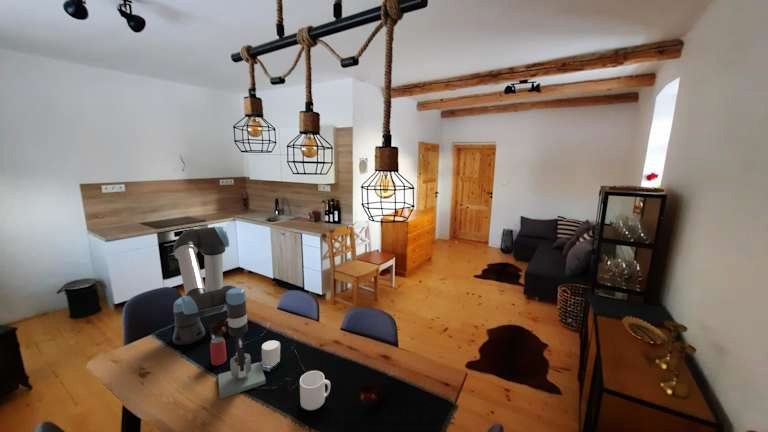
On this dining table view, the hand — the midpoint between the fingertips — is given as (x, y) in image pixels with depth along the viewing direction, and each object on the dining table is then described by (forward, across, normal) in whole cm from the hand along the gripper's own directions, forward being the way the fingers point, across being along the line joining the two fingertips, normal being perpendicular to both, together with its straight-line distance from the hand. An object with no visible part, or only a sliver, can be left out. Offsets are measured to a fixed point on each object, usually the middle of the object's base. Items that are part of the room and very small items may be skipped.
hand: (241, 370), depth 135 cm
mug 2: (+6, -8, +15) cm, 18 cm away
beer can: (+5, -20, -8) cm, 22 cm away
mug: (+6, +28, +25) cm, 38 cm away
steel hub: (0, 0, 0) cm, 0 cm away
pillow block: (+5, 0, 0) cm, 5 cm away
